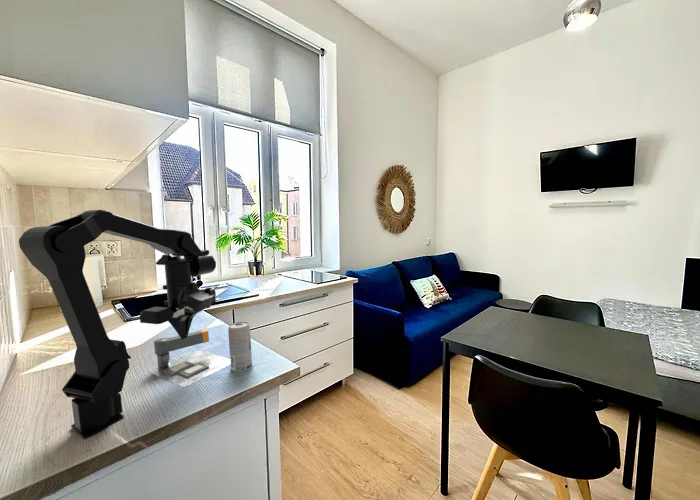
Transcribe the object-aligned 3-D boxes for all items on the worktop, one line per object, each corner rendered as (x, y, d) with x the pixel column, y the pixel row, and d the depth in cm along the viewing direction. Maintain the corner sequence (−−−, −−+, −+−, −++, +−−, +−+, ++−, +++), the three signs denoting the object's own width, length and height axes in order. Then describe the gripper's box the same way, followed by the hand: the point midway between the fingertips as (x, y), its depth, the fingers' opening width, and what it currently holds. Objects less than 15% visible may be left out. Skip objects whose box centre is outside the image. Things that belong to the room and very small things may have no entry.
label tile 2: (172, 375, 77) (172, 373, 77) (163, 372, 79) (163, 370, 79) (194, 365, 82) (194, 363, 82) (186, 362, 84) (186, 360, 84)
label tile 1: (187, 378, 76) (187, 375, 76) (178, 374, 78) (178, 372, 78) (209, 367, 81) (208, 365, 81) (199, 364, 83) (199, 362, 83)
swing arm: (156, 356, 79) (155, 344, 79) (154, 352, 82) (152, 340, 82) (209, 342, 88) (208, 331, 87) (206, 338, 91) (205, 327, 90)
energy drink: (251, 362, 85) (248, 320, 83) (252, 370, 80) (250, 326, 78) (231, 365, 83) (228, 323, 81) (231, 375, 78) (227, 329, 76)
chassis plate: (183, 389, 72) (182, 371, 71) (147, 372, 80) (146, 356, 80) (236, 362, 84) (235, 347, 84) (200, 351, 93) (199, 337, 92)
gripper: (173, 289, 67) (179, 357, 68) (229, 274, 84) (233, 328, 86) (135, 287, 70) (141, 352, 71) (197, 273, 88) (201, 325, 89)
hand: (184, 338), depth 79 cm, fingers closed
